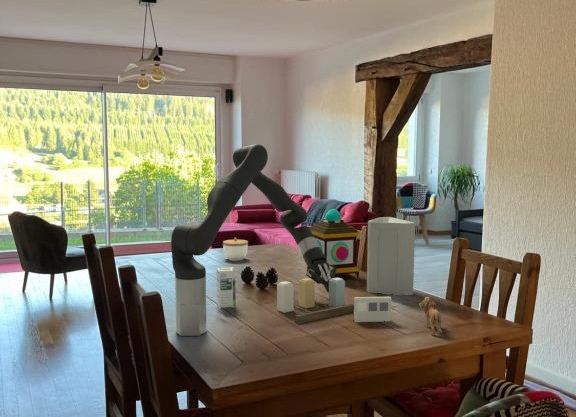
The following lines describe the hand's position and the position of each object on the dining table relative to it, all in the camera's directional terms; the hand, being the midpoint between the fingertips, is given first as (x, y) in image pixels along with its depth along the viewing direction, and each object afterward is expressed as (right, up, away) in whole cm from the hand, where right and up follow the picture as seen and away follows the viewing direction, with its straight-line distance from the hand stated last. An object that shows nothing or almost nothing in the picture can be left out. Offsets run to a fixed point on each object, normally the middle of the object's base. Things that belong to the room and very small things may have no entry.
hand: (332, 291), depth 198 cm
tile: (+12, -7, -15) cm, 20 cm away
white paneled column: (+23, -3, +25) cm, 34 cm away
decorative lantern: (+4, -1, +48) cm, 49 cm away
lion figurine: (+30, -9, -22) cm, 38 cm away
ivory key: (-16, -5, -7) cm, 19 cm away
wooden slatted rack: (-7, -6, -5) cm, 11 cm away
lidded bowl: (-42, +4, +86) cm, 96 cm away
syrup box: (-37, -6, -2) cm, 38 cm away
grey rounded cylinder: (+2, -5, -2) cm, 5 cm away
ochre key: (-9, -5, -2) cm, 10 cm away
